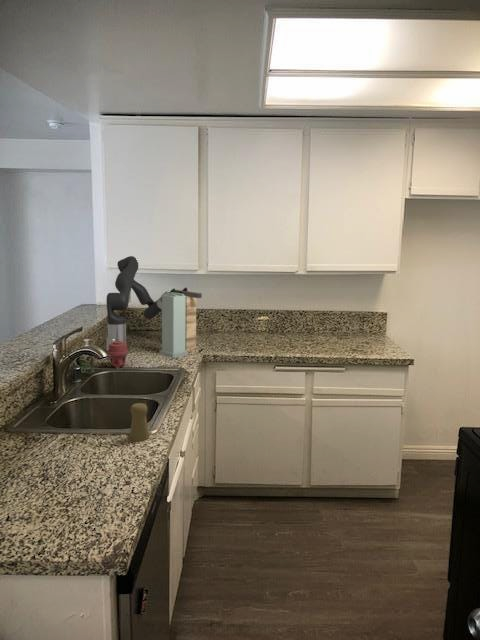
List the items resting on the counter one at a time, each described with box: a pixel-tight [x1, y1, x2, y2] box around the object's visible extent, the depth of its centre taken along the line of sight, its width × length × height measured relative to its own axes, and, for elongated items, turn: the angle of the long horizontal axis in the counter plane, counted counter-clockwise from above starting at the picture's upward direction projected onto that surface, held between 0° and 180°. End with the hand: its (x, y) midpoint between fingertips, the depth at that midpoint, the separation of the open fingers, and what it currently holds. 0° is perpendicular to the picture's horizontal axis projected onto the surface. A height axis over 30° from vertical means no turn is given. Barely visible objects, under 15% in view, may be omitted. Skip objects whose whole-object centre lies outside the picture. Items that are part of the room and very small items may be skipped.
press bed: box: [185, 296, 197, 351], centre depth 273 cm, size 10×7×30 cm
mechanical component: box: [106, 341, 129, 369], centre depth 232 cm, size 12×10×10 cm
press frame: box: [158, 292, 189, 359], centre depth 257 cm, size 12×10×33 cm
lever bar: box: [175, 289, 203, 299], centre depth 270 cm, size 22×2×2 cm, turn 46°
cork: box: [129, 402, 150, 443], centre depth 151 cm, size 6×6×11 cm
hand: (180, 289), depth 273 cm, fingers open, 8 cm apart
